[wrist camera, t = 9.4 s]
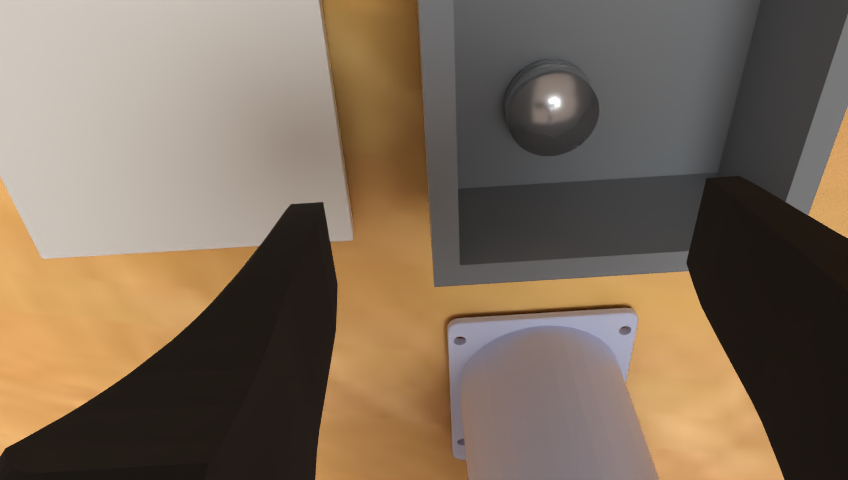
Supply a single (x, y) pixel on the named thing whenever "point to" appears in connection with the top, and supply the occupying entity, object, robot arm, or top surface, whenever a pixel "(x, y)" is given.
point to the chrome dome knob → (550, 107)
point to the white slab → (167, 122)
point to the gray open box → (620, 126)
